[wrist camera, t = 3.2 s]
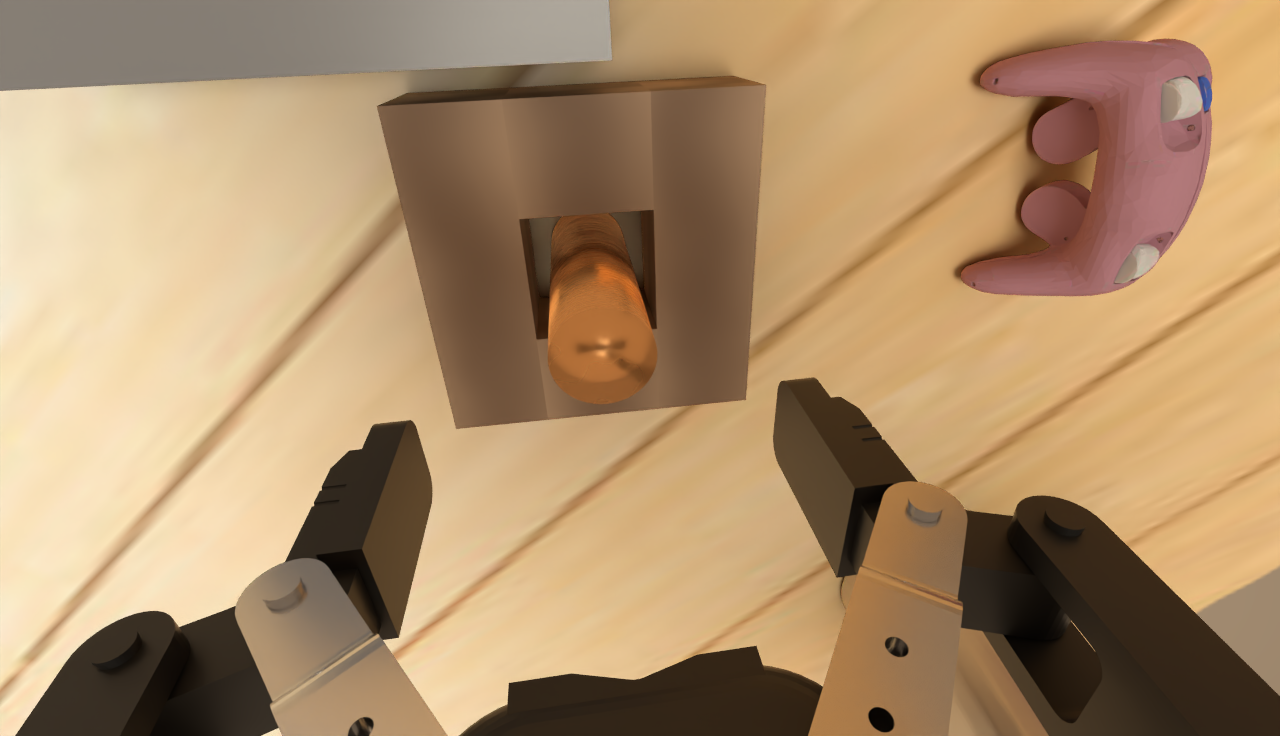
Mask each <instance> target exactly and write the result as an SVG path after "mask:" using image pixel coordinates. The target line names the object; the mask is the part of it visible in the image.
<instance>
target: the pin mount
mask: <svg viewBox="0 0 1280 736" xmlns="http://www.w3.org/2000/svg"><path fill="white" fill-rule="evenodd" d="M765 95H766V85H764V84H761V83H757V82H753V81H750V80H746V79H743V78H739V77H735V76H724V77H706V78H687V79H668V80H649V81H630V82H611V83H592V84H573V85H554V86H536V87H517V88H498V89H479V90H460V91H441V92H422V93H406V94H404V95H402V96H399V97H397V98H395V99H393V100H390V101H388V102H386V103H383V104H381V105H379V106H377V108H378V112H379V116H380V121H381V125H382V129H383V133H384V137H385V141H386V145H387V149H388V153H389V157H390V161H391V165H392V169H393V173H394V178H395V182H396V186H397V190H398V194H399V198H400V202H401V206H402V210H403V214H404V218H405V222H406V226H407V230H408V234H409V239H410V243H411V247H412V251H413V255H414V259H415V263H416V267H417V271H418V275H419V279H420V283H421V287H422V291H423V295H424V300H425V304H426V308H427V312H428V316H429V320H430V324H431V328H432V332H433V336H434V340H435V344H436V348H437V352H438V357H439V361H440V365H441V369H442V373H443V377H444V381H445V385H446V389H447V393H448V397H449V401H450V405H451V409H452V413H453V418H454V422H455V426H456V429H459V428H469V427H479V426H489V425H499V424H509V423H519V422H529V421H539V420H549V419H559V418H569V417H579V416H589V415H599V414H609V413H619V412H629V411H639V410H649V409H659V408H669V407H679V406H689V405H699V404H708V403H718V402H728V401H738V400H746V389H747V374H748V358H749V343H750V327H751V312H752V296H753V281H754V265H755V250H756V234H757V219H758V203H759V188H760V172H761V157H762V141H763V126H764V110H765ZM628 211H641V224H642V250H643V277H644V289H639V290H640V293H641V296H642V299H643V303H644V306H645V309H646V312H647V316H648V319H649V322H650V325H651V329H652V332H653V335H654V339H655V342H656V346H657V363H656V367H655V370H654V372H653V374H652V376H651V378H650V379H649V381H648V382H647V384H646V385H645V386H644V387H643V388H642V389H641V390H639V391H638V392H637V393H635V394H634V395H632V396H631V397H629V398H627V399H624V400H622V401H619V402H615V403H609V404H592V403H586V402H583V401H580V400H577V399H575V398H573V397H571V396H570V395H568V394H567V393H565V392H564V391H563V390H562V389H561V388H560V387H559V386H558V385H557V384H556V382H555V381H554V379H553V377H552V375H551V373H550V370H549V366H548V331H549V302H550V297H542V298H540V297H539V290H538V283H537V275H536V268H535V261H534V254H533V246H532V239H531V232H530V224H529V219H530V218H544V217H558V216H572V215H586V214H600V213H614V212H628Z"/></svg>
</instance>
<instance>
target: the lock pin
mask: <svg viewBox="0 0 1280 736" xmlns="http://www.w3.org/2000/svg"><path fill="white" fill-rule="evenodd" d="M656 363H657V346H656V342H655V339H654V335H653V332H652V329H651V325H650V322H649V319H648V316H647V312H646V309H645V306H644V303H643V299H642V296H641V293H640V290H639V286H638V283H637V280H636V277H635V273H634V270H633V267H632V263H631V260H630V257H629V254H628V250H627V247H626V244H625V241H624V237H623V234H622V231H621V228H620V226H619V224H618V223H617V221H616V220H615V219H614V218H613V217H612V216H611V215H610V214H608V213H600V214H586V215H572V216H562V217H561V219H560V220H559V221H558V222H557V224H556V226H555V228H554V230H553V234H552V245H551V274H550V302H549V331H548V366H549V370H550V373H551V375H552V377H553V379H554V381H555V382H556V384H557V385H558V386H559V387H560V388H561V389H562V390H563V391H564V392H565V393H567V394H568V395H570V396H571V397H573V398H575V399H577V400H580V401H583V402H586V403H592V404H609V403H615V402H619V401H622V400H624V399H627V398H629V397H631V396H632V395H634V394H635V393H637V392H638V391H639V390H641V389H642V388H643V387H644V386H645V385H646V384H647V382H648V381H649V379H650V378H651V376H652V374H653V372H654V370H655V367H656Z"/></svg>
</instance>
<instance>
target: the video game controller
mask: <svg viewBox="0 0 1280 736" xmlns="http://www.w3.org/2000/svg"><path fill="white" fill-rule="evenodd" d="M980 84H981V86H982V87H983V88H985V89H986V90H988V91H990V92H993V93H996V94H1002V95H1007V96H1013V97H1020V96H1061V97H1069V98H1072V99H1070V100H1069V101H1067V102H1066V103H1064V104H1061V105H1059V106H1057V107H1056V108H1054V109H1052V110H1050V111H1048V112H1047V113H1045V114H1044V115H1043V116H1041V117H1040V119H1039V120H1038V121H1037V123H1036V124H1035V126H1034V129H1033V133H1032V142H1033V147H1034V149H1035V152H1036V153H1037V155H1038V156H1039V157H1040V158H1041V159H1042V160H1044V161H1046V162H1049V163H1053V164H1067V163H1070V162H1073V161H1076V160H1079V159H1081V158H1082V157H1084V156H1086V155H1088V154H1090V153H1092V152H1093V151H1095V150H1097V149H1098V154H1097V161H1096V167H1095V173H1094V179H1093V184H1092V189H1091V192H1090V191H1089V190H1088V189H1086V188H1085V187H1084V186H1082V185H1080V184H1078V183H1075V182H1071V181H1066V180H1061V181H1054V182H1051V183H1048V184H1046V185H1044V186H1041V187H1040V188H1038V189H1036V190H1034V191H1033V192H1031V193H1030V194H1029V195H1028V197H1027V198H1026V199H1025V201H1024V203H1023V206H1022V209H1021V218H1022V221H1023V223H1024V224H1025V226H1026V228H1028V229H1029V230H1030V231H1031V232H1033V233H1034V234H1036V235H1037V236H1039V237H1041V238H1042V239H1043V240H1045V241H1046V242H1047V243H1048V244H1050V247H1049V248H1047V249H1045V250H1042V251H1039V252H1035V253H1032V254H1027V255H1018V256H1009V257H1000V258H994V259H989V260H985V261H980V262H977V263H974V264H972V265H970V266H966V267H965V268H964V270H963V271H962V273H961V279H962V281H963V282H964V283H965V284H966V285H968V286H969V287H972V288H974V289H976V290H979V291H982V292H987V293H993V294H1006V295H1032V296H1092V295H1098V294H1104V293H1109V292H1112V291H1116V290H1119V289H1122V288H1124V287H1126V286H1128V285H1130V284H1132V283H1134V282H1135V281H1136V280H1138V279H1139V278H1140V277H1142V276H1143V275H1144V274H1146V273H1147V272H1149V271H1150V270H1151V269H1152V268H1153V267H1154V265H1155V264H1156V263H1157V262H1158V260H1159V258H1160V257H1161V256H1162V255H1163V254H1164V253H1165V252H1166V251H1167V250H1168V249H1169V247H1170V246H1171V245H1172V243H1173V242H1174V241H1175V239H1176V238H1177V237H1178V235H1179V234H1180V232H1181V230H1182V229H1183V227H1184V226H1185V224H1186V222H1187V220H1188V218H1189V216H1190V214H1191V212H1192V210H1193V208H1194V206H1195V203H1196V201H1197V199H1198V196H1199V193H1200V190H1201V188H1202V185H1203V182H1204V178H1205V173H1206V169H1207V165H1208V160H1209V154H1210V145H1211V131H1212V120H1211V109H1210V105H1211V101H1212V90H1211V84H1212V72H1211V67H1210V64H1209V61H1208V59H1207V58H1206V56H1205V55H1204V53H1203V52H1202V51H1201V50H1200V49H1198V48H1197V47H1196V46H1195V45H1193V44H1190V43H1188V42H1185V41H1181V40H1176V39H1157V40H1152V41H1148V42H1142V41H1101V42H1089V43H1081V44H1075V45H1069V46H1063V47H1057V48H1051V49H1047V50H1042V51H1037V52H1032V53H1027V54H1023V55H1019V56H1016V57H1012V58H1008V59H1005V60H1002V61H999V62H997V63H995V64H993V65H991V66H990V67H989V68H987V69H986V70H985V71H984V73H983V74H982V75H981V78H980Z"/></svg>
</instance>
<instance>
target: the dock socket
mask: <svg viewBox="0 0 1280 736" xmlns="http://www.w3.org/2000/svg"><path fill="white" fill-rule="evenodd" d="M609 60H612V47H611V29H610V11H609V0H0V91H6V90H26V89H46V88H67V87H87V86H107V85H127V84H147V83H167V82H187V81H207V80H227V79H247V78H268V77H288V76H308V75H328V74H348V73H368V72H388V71H408V70H428V69H448V68H469V67H489V66H509V65H529V64H549V63H569V62H589V61H609Z"/></svg>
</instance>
